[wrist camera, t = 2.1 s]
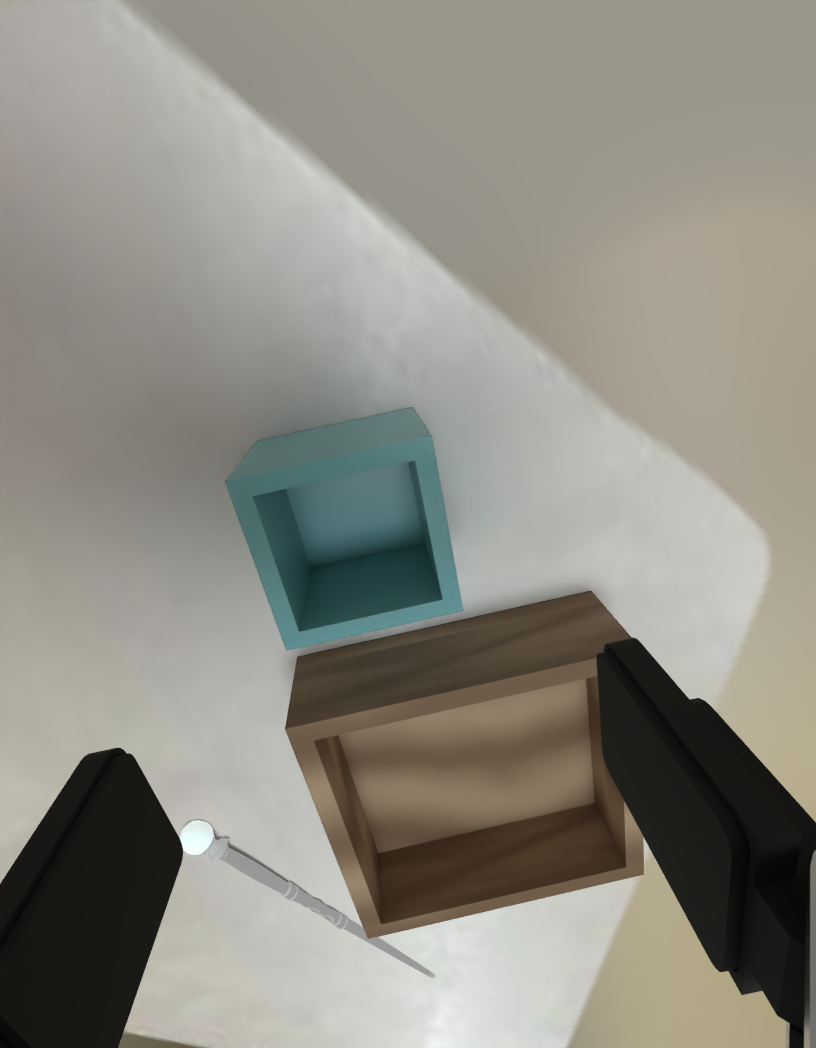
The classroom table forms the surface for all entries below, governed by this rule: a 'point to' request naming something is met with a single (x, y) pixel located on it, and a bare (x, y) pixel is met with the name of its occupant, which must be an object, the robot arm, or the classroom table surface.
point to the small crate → (348, 527)
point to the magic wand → (277, 884)
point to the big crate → (465, 764)
